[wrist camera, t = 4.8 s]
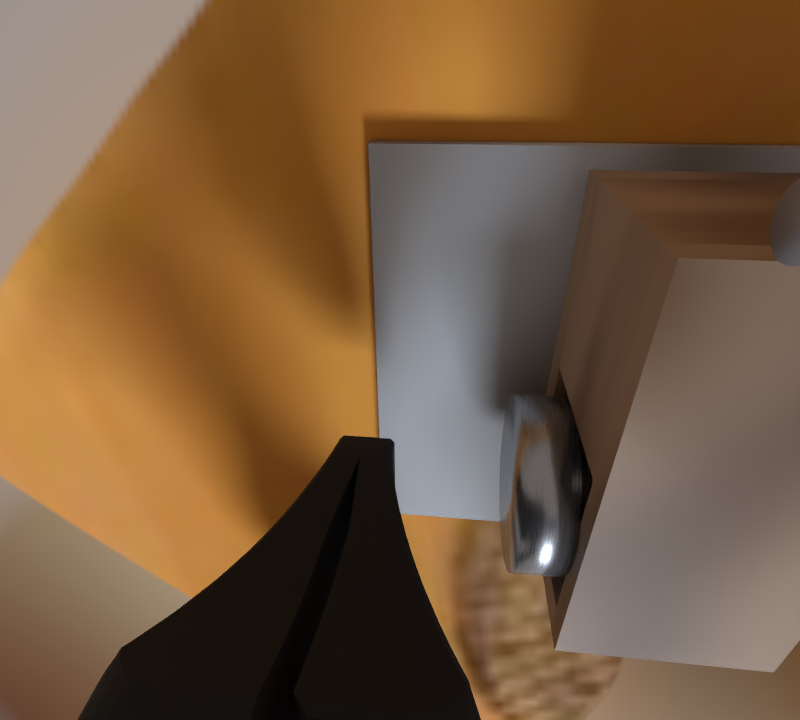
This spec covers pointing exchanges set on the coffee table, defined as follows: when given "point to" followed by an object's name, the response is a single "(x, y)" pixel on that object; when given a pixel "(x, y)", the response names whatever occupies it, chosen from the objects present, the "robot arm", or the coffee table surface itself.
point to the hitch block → (606, 371)
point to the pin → (541, 485)
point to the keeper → (787, 227)
